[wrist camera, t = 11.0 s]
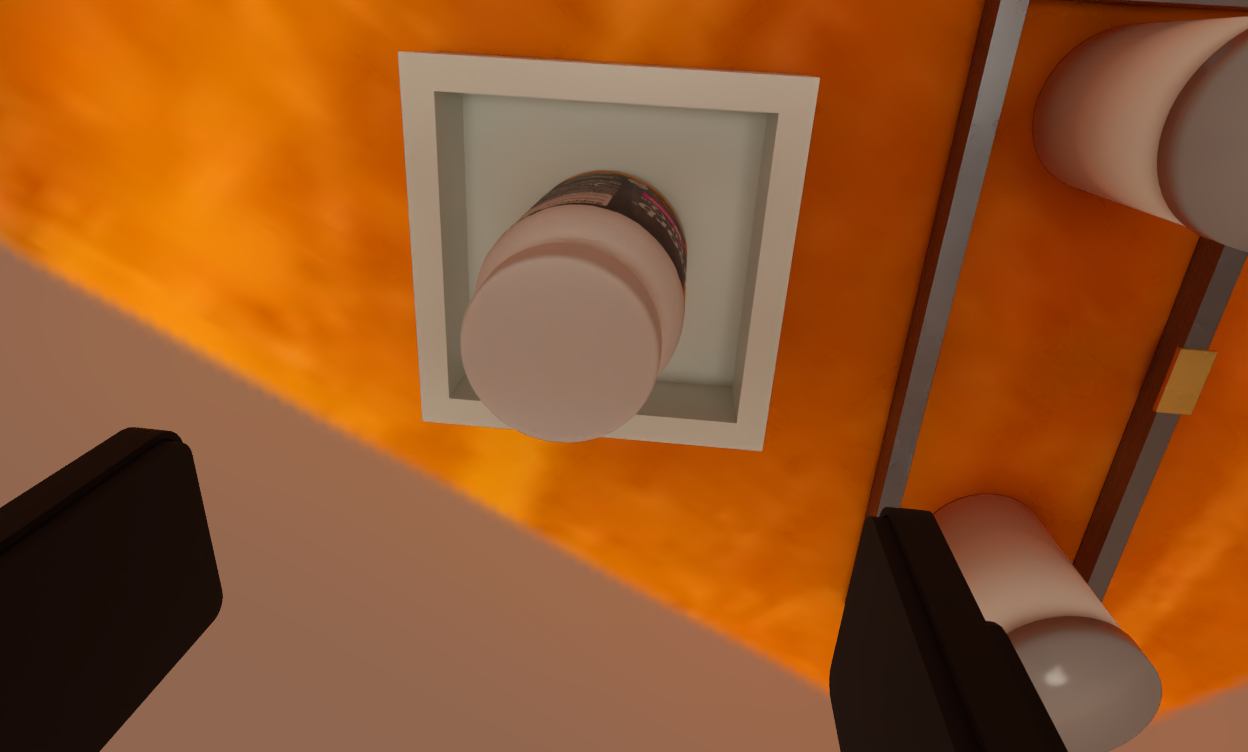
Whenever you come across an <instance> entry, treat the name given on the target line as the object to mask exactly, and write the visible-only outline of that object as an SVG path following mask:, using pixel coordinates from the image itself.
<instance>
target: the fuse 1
mask: <svg viewBox="0 0 1248 752" xmlns="http://www.w3.org/2000/svg"><path fill="white" fill-rule="evenodd" d="M1033 140H1034V145H1035V149H1036V151H1037V154H1038V157H1039V158H1040V160H1041V162H1042V164H1043V165H1044V166H1045V168H1046V169H1047V170H1048V172H1050V173H1051V174H1052V175H1053V176H1054V177H1055V178H1056V179H1058V180H1059V181H1061V182H1063V183H1064V184H1067V185H1069V186H1071V187H1074V188H1077V189H1080V190H1082V191H1085V192H1088V193H1091V194H1094V195H1097V196H1100V197H1103V198H1105V199H1108V200H1111V201H1114V202H1117V203H1120V204H1123V205H1125V206H1128V207H1131V208H1134V209H1137V210H1140V211H1143V212H1146V213H1148V214H1151V215H1154V216H1157V217H1160V218H1163V219H1166V220H1168V221H1171V222H1174V223H1177V224H1180V225H1183V226H1185V227H1187V228H1188V229H1190V230H1191V231H1193V232H1194V233H1196V234H1198V235H1200V236H1202V237H1205V238H1207V239H1209V240H1212V241H1215V242H1218V243H1220V244H1223V245H1226V246H1229V247H1232V248H1234V249H1238V250H1241V251H1245V252H1248V16H1247V17H1231V18H1216V19H1200V20H1185V21H1170V22H1154V23H1139V24H1128V25H1122V26H1118V27H1114V28H1110V29H1108V30H1105V31H1103V32H1100V33H1098V34H1096V35H1094V36H1092V37H1090V38H1089V39H1087V40H1085V41H1084V42H1082V43H1081V44H1080V45H1078V46H1077V47H1075V48H1074V49H1073V50H1072V51H1071V52H1070V53H1068V54H1067V55H1066V56H1065V57H1064V58H1063V60H1062V61H1061V62H1060V63H1059V64H1058V65H1057V66H1056V68H1055V69H1054V70H1053V72H1052V73H1051V74H1050V76H1049V77H1048V79H1047V81H1046V82H1045V84H1044V86H1043V88H1042V90H1041V92H1040V95H1039V97H1038V100H1037V103H1036V107H1035V111H1034V116H1033Z"/></svg>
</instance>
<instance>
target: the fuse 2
mask: <svg viewBox="0 0 1248 752" xmlns="http://www.w3.org/2000/svg"><path fill="white" fill-rule="evenodd" d="M933 515H934V517H935V519H936V521H937V523H938V525H939V527H940V529H941V531H942V533H943V535H944V537H945V539H946V541H947V543H948V545H949V547H950V549H951V551H952V553H953V555H954V557H955V559H956V561H957V563H958V565H959V568H960V570H961V572H962V574H963V576H964V578H965V580H966V582H967V584H968V586H969V588H970V590H971V592H972V594H973V596H974V598H975V600H976V602H977V604H978V606H979V608H980V610H981V612H982V614H983V616H984V618H985V620H986V621H992V622H995V623H997V624H999V625H1000V626H1002V628H1003V629H1004V631H1005V632H1006V633H1007V635H1008V636H1009V638H1010V640H1011V642H1012V644H1013V646H1014V648H1015V650H1016V652H1017V654H1018V656H1019V658H1020V660H1021V661H1022V663H1023V665H1024V667H1025V669H1026V671H1027V673H1028V675H1029V677H1030V679H1031V681H1032V683H1033V685H1034V687H1035V689H1036V690H1037V692H1038V694H1039V696H1040V698H1041V700H1042V702H1043V704H1044V706H1045V708H1046V710H1047V712H1048V714H1049V716H1050V718H1051V719H1052V721H1053V723H1054V725H1055V727H1056V729H1057V731H1058V733H1059V735H1060V737H1061V739H1062V741H1063V743H1064V745H1065V747H1066V748H1067V750H1068V752H1108V751H1111V750H1113V749H1115V748H1117V747H1119V746H1121V745H1123V744H1125V743H1126V742H1128V741H1130V740H1131V739H1133V738H1134V737H1135V736H1137V735H1138V734H1139V733H1140V732H1141V731H1142V730H1143V729H1144V728H1145V727H1146V726H1147V725H1148V724H1149V723H1150V722H1151V720H1152V719H1153V717H1154V716H1155V714H1156V712H1157V710H1158V708H1159V705H1160V702H1161V697H1162V686H1161V680H1160V678H1159V675H1158V673H1157V671H1156V670H1155V668H1154V667H1153V665H1152V664H1151V662H1150V661H1149V660H1148V658H1147V657H1146V656H1145V655H1144V653H1143V652H1142V651H1141V649H1140V648H1139V647H1138V645H1137V644H1136V643H1135V641H1134V640H1133V639H1132V638H1131V637H1130V636H1129V635H1128V634H1127V633H1125V632H1124V631H1123V630H1121V628H1120V627H1119V626H1118V624H1117V623H1116V622H1115V620H1114V619H1113V618H1112V616H1111V615H1110V614H1109V612H1108V611H1107V610H1106V608H1105V607H1104V606H1103V604H1102V603H1101V602H1100V600H1099V599H1098V598H1097V596H1096V595H1095V594H1094V592H1093V591H1092V590H1091V588H1090V587H1089V586H1088V584H1087V583H1086V582H1085V580H1084V579H1083V578H1082V576H1081V575H1080V574H1079V573H1078V571H1077V570H1076V569H1075V567H1074V566H1073V565H1072V563H1071V562H1070V561H1069V559H1068V558H1067V557H1066V555H1065V554H1064V553H1063V551H1062V550H1061V549H1060V547H1059V546H1058V545H1057V543H1056V542H1055V541H1054V539H1053V538H1052V537H1051V535H1050V534H1049V533H1048V531H1047V530H1046V529H1045V527H1044V526H1043V525H1042V523H1041V522H1040V521H1039V519H1038V518H1037V517H1036V515H1035V514H1034V513H1033V512H1032V511H1031V510H1030V509H1029V508H1028V507H1027V506H1025V505H1024V504H1023V503H1021V502H1019V501H1017V500H1015V499H1012V498H1010V497H1006V496H1002V495H995V494H981V495H973V496H968V497H964V498H961V499H958V500H956V501H953V502H951V503H949V504H947V505H945V506H944V507H942V508H941V509H939V510H938V511H937V512H936V513H934V514H933Z"/></svg>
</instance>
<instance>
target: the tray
mask: <svg viewBox="0 0 1248 752" xmlns="http://www.w3.org/2000/svg"><path fill="white" fill-rule="evenodd" d="M398 61H399V76H400V91H401V106H402V121H403V136H404V151H405V166H406V181H407V196H408V211H409V225H410V240H411V255H412V270H413V285H414V300H415V315H416V330H417V345H418V360H419V375H420V390H421V405H422V420H423V421H425V422H436V423H448V424H459V425H470V426H482V427H493V428H504V429H513V428H512V427H510V426H508V425H507V424H505V423H504V422H502V421H501V420H500V419H498V418H497V417H496V416H495V415H494V414H493V413H492V412H491V411H490V410H489V409H488V408H487V407H486V406H485V405H484V404H483V403H482V401H481V400H480V399H479V397H478V396H477V395H476V393H475V391H474V390H473V388H472V386H471V384H470V382H469V380H468V378H467V375H466V373H465V370H464V367H463V362H462V357H461V346H460V335H461V327H462V323H463V318H464V315H465V312H466V309H467V307H468V305H469V303H470V301H471V299H472V298H473V296H474V293H475V287H476V282H477V279H478V275H479V272H480V269H481V267H482V264H483V262H484V260H485V257H486V256H487V254H488V252H489V251H490V250H491V248H492V247H493V246H494V244H495V243H496V242H497V240H498V239H499V238H500V237H501V236H502V235H503V234H504V233H505V232H506V231H507V230H508V229H509V228H510V227H511V226H512V225H513V224H515V223H516V222H517V221H518V220H519V219H520V218H521V217H522V216H523V215H524V214H525V213H526V212H527V211H529V210H530V209H531V207H532V206H534V205H535V204H536V203H537V202H538V201H539V200H540V199H541V198H542V197H543V196H544V195H545V194H546V193H547V192H549V191H550V190H551V189H552V188H554V187H555V186H557V185H558V184H559V183H561V182H563V181H565V180H567V179H568V178H571V177H573V176H575V175H578V174H581V173H585V172H589V171H595V170H611V171H619V172H624V173H628V174H631V175H633V176H636V177H638V178H640V179H642V180H644V181H646V182H647V183H649V184H650V185H652V186H653V187H655V188H656V189H657V190H658V191H659V192H661V193H662V194H663V195H664V196H665V197H666V199H667V200H668V201H669V202H670V204H671V205H672V206H673V208H674V209H675V211H676V213H677V215H678V217H679V219H680V221H681V223H682V226H683V230H684V233H685V238H686V243H687V271H686V290H685V292H686V295H685V314H684V322H683V328H682V333H681V336H680V339H679V342H678V345H677V347H676V350H675V352H674V354H673V356H672V358H671V359H670V361H669V363H668V364H667V366H666V367H665V369H664V370H663V371H662V373H661V374H660V375H659V376H658V377H657V379H656V382H655V384H654V387H653V389H652V391H651V393H650V395H649V397H648V399H647V400H646V402H645V403H644V405H643V406H642V407H641V409H640V410H639V411H638V412H637V413H636V414H635V415H634V416H633V417H632V418H631V419H630V420H629V421H627V422H626V423H625V424H624V425H622V426H621V427H619V428H618V429H616V430H614V431H613V432H611V433H609V434H606V435H604V436H601V437H606V438H617V439H629V440H640V441H651V442H663V443H674V444H685V445H697V446H708V447H719V448H731V449H742V450H753V451H762V449H763V443H764V436H765V430H766V423H767V417H768V411H769V404H770V398H771V391H772V385H773V378H774V372H775V365H776V359H777V353H778V346H779V340H780V333H781V327H782V320H783V314H784V307H785V301H786V295H787V288H788V282H789V275H790V269H791V262H792V256H793V249H794V243H795V237H796V230H797V224H798V217H799V211H800V204H801V198H802V191H803V185H804V179H805V172H806V166H807V159H808V153H809V146H810V140H811V133H812V127H813V121H814V114H815V108H816V101H817V95H818V88H819V82H820V78H819V77H814V76H808V75H803V74H789V73H773V72H757V71H741V70H725V69H709V68H693V67H677V66H661V65H645V64H629V63H613V62H597V61H580V60H564V59H548V58H532V57H516V56H500V55H484V54H468V53H452V52H428V51H398Z"/></svg>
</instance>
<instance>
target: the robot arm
mask: <svg viewBox="0 0 1248 752" xmlns="http://www.w3.org/2000/svg"><path fill="white" fill-rule="evenodd" d="M222 599H223V594H222V588H221V583H220V579H219V574H218V570H217V565H216V560H215V556H214V551H213V546H212V542H211V538H210V533H209V528H208V524H207V519H206V515H205V510H204V506H203V501H202V496H201V492H200V487H199V483H198V478H197V473H196V469H195V464H194V460H193V455H192V452H191V450H190V448H189V446H188V445H186V444H184V443H183V442H182V440H181V438H180V437H179V436H178V435H177V434H176V433H174V432H172V431H165V430H155V429H146V428H136V427H131V428H127V429H124V430H121V431H120V432H118V433H117V434H115V435H114V436H112V437H110V438H109V439H107V440H106V441H104V442H103V443H101V444H99V445H98V446H96V447H95V448H93V449H92V450H90V451H88V452H87V453H85V454H84V455H82V456H81V457H79V458H78V459H76V460H74V461H73V462H71V463H70V464H68V465H67V466H65V467H64V468H62V469H60V470H59V471H57V472H56V473H54V474H53V475H51V476H49V477H48V478H46V479H45V480H43V481H42V482H40V483H38V484H37V485H35V486H34V487H32V488H31V489H29V490H28V491H26V492H24V493H23V494H21V495H20V496H18V497H17V498H15V499H13V500H12V501H10V502H9V503H7V504H6V505H4V506H2V507H1V508H0V752H100V750H101V749H102V748H103V747H104V746H105V745H106V743H107V742H108V741H109V740H110V739H111V738H112V737H113V736H114V734H115V733H116V732H117V731H118V730H119V729H120V727H121V726H122V725H123V724H124V723H125V722H126V720H127V719H128V718H129V717H130V716H131V715H132V714H133V713H134V711H135V710H136V709H137V708H138V707H139V706H140V705H141V703H142V702H143V701H144V700H145V699H146V698H147V697H148V695H149V694H150V693H151V692H152V691H153V690H154V688H155V687H156V686H157V685H158V684H159V683H160V682H161V681H162V679H163V678H164V677H165V676H166V675H167V673H169V671H170V670H171V669H172V668H173V667H174V666H175V664H176V663H177V662H178V661H179V660H180V659H181V658H182V657H183V655H184V654H185V653H186V652H187V651H188V650H189V649H190V647H191V646H192V645H193V644H194V643H195V642H196V641H197V639H198V638H199V637H200V636H201V635H202V634H203V633H204V631H205V630H206V629H207V628H208V627H209V626H210V625H211V623H212V622H213V621H214V620H215V618H216V617H217V615H218V613H219V611H220V608H221V605H222ZM829 687H830V698H831V703H832V709H833V714H834V719H835V724H836V729H837V735H838V740H839V745H840V751H841V752H1068V750H1067V748H1066V747H1065V745H1064V743H1063V741H1062V739H1061V737H1060V735H1059V733H1058V731H1057V729H1056V727H1055V725H1054V723H1053V721H1052V719H1051V718H1050V716H1049V714H1048V712H1047V710H1046V708H1045V706H1044V704H1043V702H1042V700H1041V698H1040V696H1039V694H1038V692H1037V690H1036V689H1035V687H1034V685H1033V683H1032V681H1031V679H1030V677H1029V675H1028V673H1027V671H1026V669H1025V667H1024V665H1023V663H1022V661H1021V660H1020V658H1019V656H1018V654H1017V652H1016V650H1015V648H1014V646H1013V644H1012V642H1011V640H1010V638H1009V636H1008V635H1007V633H1006V632H1005V631H1004V629H1003V628H1002V626H1000V625H999V624H997V623H995V622H992V621H986V620H985V618H984V616H983V614H982V612H981V610H980V608H979V606H978V604H977V602H976V600H975V598H974V596H973V594H972V592H971V590H970V588H969V586H968V584H967V582H966V580H965V578H964V576H963V574H962V572H961V570H960V568H959V565H958V563H957V561H956V559H955V557H954V555H953V553H952V551H951V549H950V547H949V545H948V543H947V541H946V539H945V537H944V535H943V533H942V531H941V529H940V527H939V525H938V523H937V521H936V519H935V517H934V515H933V514H932V513H931V512H929V511H924V510H914V509H905V508H895V507H885V508H883V509H882V511H881V513H880V516H879V517H875V516H868V517H867V518H866V520H865V523H864V526H863V530H862V535H861V539H860V543H859V548H858V552H857V556H856V560H855V565H854V569H853V573H852V578H851V582H850V586H849V591H848V595H847V599H846V603H845V608H844V612H843V616H842V621H841V625H840V629H839V634H838V638H837V642H836V646H835V651H834V655H833V659H832V664H831V669H830V678H829Z"/></svg>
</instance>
